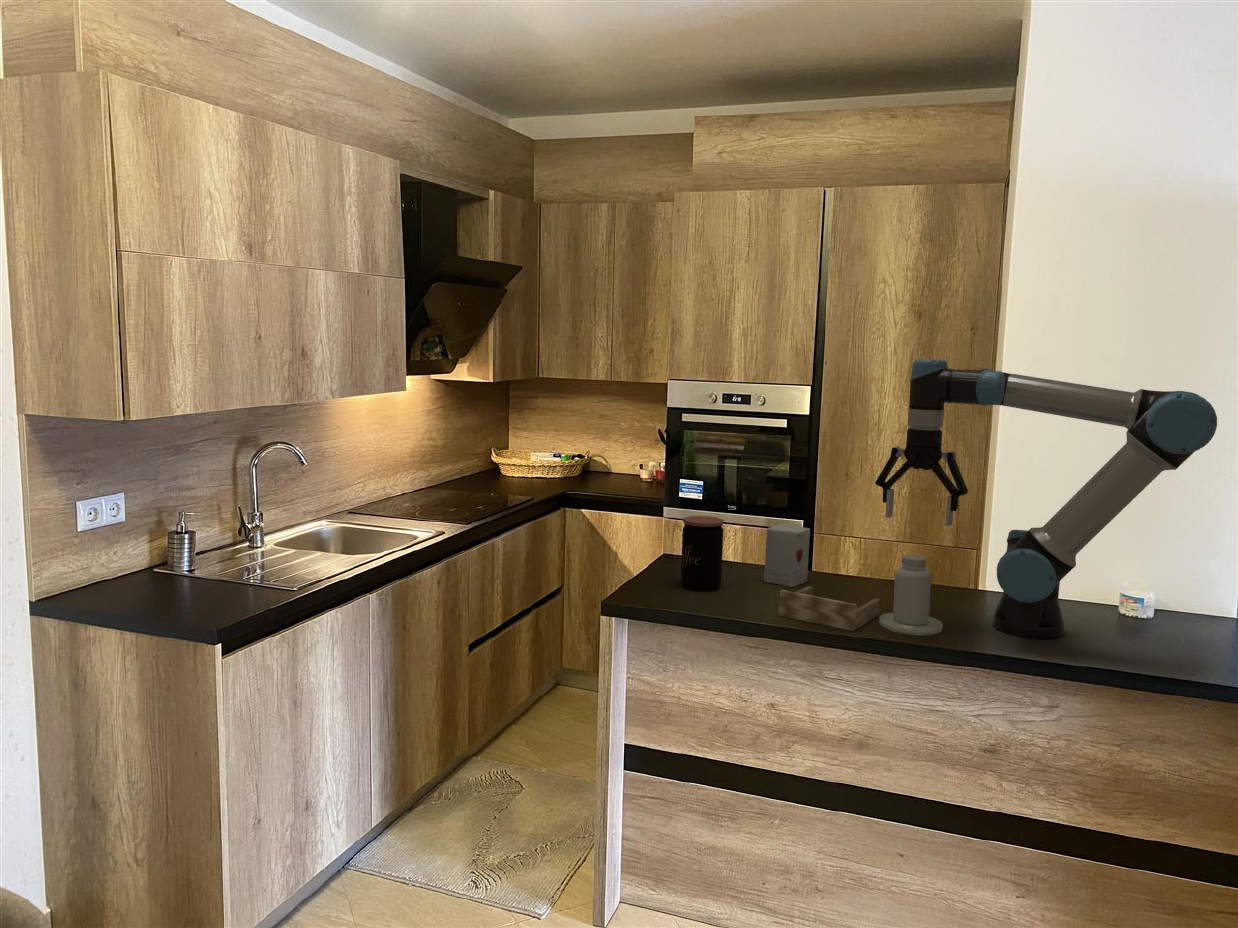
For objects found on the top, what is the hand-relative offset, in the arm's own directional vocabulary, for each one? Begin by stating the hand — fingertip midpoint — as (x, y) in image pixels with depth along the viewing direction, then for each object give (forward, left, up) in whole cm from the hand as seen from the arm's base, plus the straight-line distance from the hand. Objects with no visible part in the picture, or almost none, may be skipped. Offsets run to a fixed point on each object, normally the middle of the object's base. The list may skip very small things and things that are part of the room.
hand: (918, 521), depth 209 cm
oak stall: (+18, +4, -25) cm, 31 cm away
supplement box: (+40, -18, -25) cm, 50 cm away
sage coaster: (0, 0, -25) cm, 25 cm away
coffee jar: (+55, +2, -25) cm, 60 cm away
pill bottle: (0, 0, -24) cm, 24 cm away
